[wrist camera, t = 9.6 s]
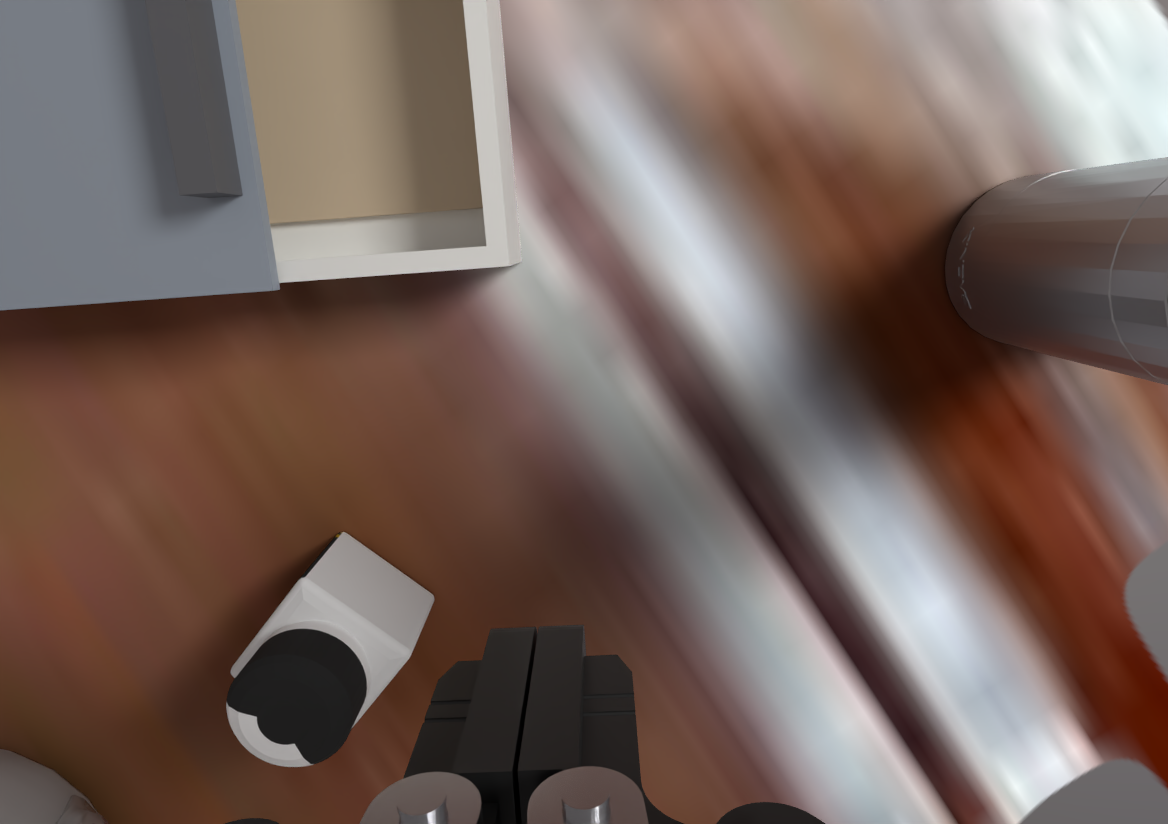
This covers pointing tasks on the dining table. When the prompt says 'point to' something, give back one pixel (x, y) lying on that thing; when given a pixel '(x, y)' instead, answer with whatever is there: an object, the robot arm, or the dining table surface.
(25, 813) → the chamber pot
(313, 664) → the medicine bottle
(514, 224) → the box
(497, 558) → the dining table surface
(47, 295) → the lid
